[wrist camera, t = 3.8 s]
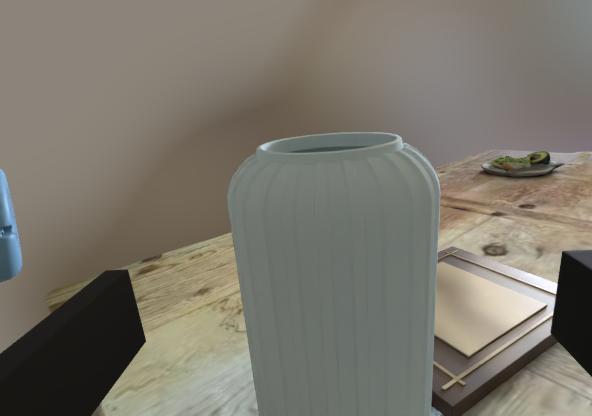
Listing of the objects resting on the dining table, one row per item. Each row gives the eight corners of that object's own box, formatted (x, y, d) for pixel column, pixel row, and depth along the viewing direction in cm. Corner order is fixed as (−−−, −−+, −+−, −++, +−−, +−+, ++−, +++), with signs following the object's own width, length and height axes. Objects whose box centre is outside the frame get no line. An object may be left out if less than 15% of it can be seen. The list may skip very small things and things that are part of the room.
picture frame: (452, 422, 27) (453, 405, 26) (320, 312, 42) (319, 299, 41) (597, 310, 38) (600, 297, 37) (452, 255, 53) (452, 244, 52)
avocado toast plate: (544, 183, 84) (547, 164, 83) (469, 175, 97) (470, 158, 96) (567, 167, 96) (570, 151, 95) (497, 162, 109) (498, 147, 108)
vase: (232, 473, 25) (172, 157, 18) (318, 367, 33) (299, 129, 27) (392, 593, 18) (392, 167, 11) (446, 423, 27) (464, 126, 20)
